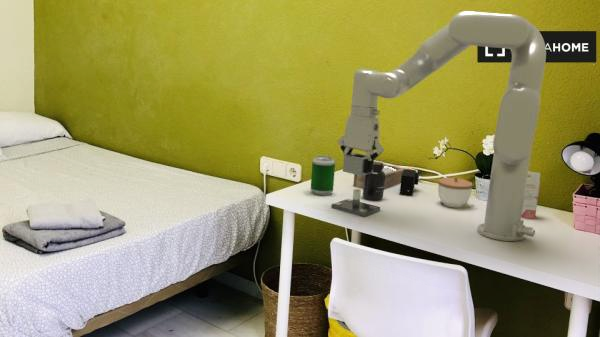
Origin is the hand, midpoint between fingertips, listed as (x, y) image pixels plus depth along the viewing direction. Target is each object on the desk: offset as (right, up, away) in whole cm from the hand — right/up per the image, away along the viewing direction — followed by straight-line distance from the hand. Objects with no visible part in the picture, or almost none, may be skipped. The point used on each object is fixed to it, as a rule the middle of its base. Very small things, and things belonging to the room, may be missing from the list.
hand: (357, 169), depth 183 cm
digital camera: (+20, -8, +26) cm, 34 cm away
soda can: (-10, -8, +19) cm, 23 cm away
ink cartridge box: (+52, -15, +7) cm, 54 cm away
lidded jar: (+32, -12, +14) cm, 37 cm away
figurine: (+13, -5, +36) cm, 39 cm away
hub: (0, -1, 0) cm, 1 cm away
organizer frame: (+11, -5, +35) cm, 37 cm away
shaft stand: (0, -12, +3) cm, 12 cm away
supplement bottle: (+6, -10, +16) cm, 20 cm away
